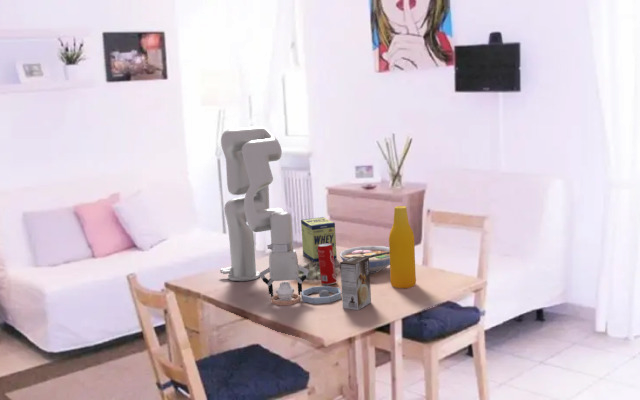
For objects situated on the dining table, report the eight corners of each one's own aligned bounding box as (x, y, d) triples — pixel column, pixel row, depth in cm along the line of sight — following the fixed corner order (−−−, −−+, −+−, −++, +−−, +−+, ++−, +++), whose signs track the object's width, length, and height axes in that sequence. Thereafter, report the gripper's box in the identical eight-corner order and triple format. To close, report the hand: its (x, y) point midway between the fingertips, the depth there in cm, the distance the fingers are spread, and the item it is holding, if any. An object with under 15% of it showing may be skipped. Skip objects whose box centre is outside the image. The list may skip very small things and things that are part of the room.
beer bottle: (404, 280, 291) (401, 203, 286) (421, 284, 283) (418, 206, 278) (385, 285, 286) (382, 207, 280) (402, 290, 278) (399, 210, 273)
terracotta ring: (271, 305, 269) (271, 302, 268) (271, 297, 278) (271, 294, 278) (300, 303, 269) (300, 300, 269) (299, 295, 279) (299, 292, 279)
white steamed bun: (294, 297, 277) (293, 278, 276) (294, 302, 271) (293, 283, 270) (277, 298, 277) (275, 279, 276) (276, 303, 271) (275, 284, 269)
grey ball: (319, 301, 270) (319, 291, 269) (319, 298, 274) (318, 288, 273) (330, 301, 270) (329, 291, 270) (329, 298, 274) (328, 288, 273)
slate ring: (302, 304, 268) (301, 298, 268) (301, 292, 282) (300, 287, 281) (342, 301, 269) (341, 296, 268) (339, 290, 282) (338, 284, 282)
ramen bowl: (378, 259, 322) (377, 240, 320) (412, 270, 302) (412, 250, 301) (327, 270, 309) (326, 250, 308) (359, 283, 290) (358, 261, 288)
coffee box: (355, 300, 270) (353, 255, 267) (371, 302, 266) (369, 257, 263) (341, 308, 262) (339, 262, 259) (358, 310, 258) (356, 263, 256)
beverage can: (335, 285, 289) (333, 246, 286) (317, 285, 290) (315, 246, 287) (337, 280, 294) (335, 242, 292) (321, 280, 296) (318, 242, 293)
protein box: (313, 262, 324) (311, 225, 321) (302, 254, 338) (300, 219, 335) (337, 259, 327) (335, 222, 324) (325, 251, 341) (323, 216, 339)
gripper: (257, 251, 266) (260, 299, 269) (307, 248, 267) (310, 296, 270) (257, 246, 274) (261, 293, 277) (307, 243, 274) (309, 290, 277)
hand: (285, 294), depth 273 cm, fingers open, 9 cm apart
